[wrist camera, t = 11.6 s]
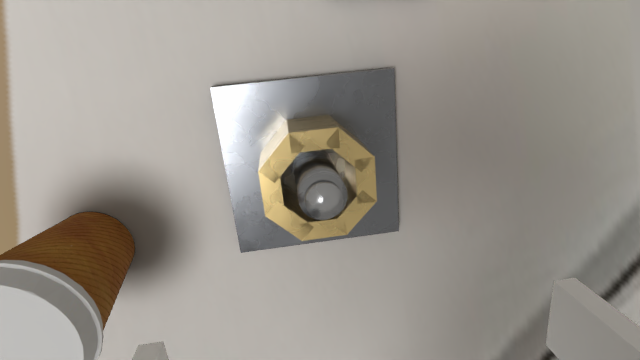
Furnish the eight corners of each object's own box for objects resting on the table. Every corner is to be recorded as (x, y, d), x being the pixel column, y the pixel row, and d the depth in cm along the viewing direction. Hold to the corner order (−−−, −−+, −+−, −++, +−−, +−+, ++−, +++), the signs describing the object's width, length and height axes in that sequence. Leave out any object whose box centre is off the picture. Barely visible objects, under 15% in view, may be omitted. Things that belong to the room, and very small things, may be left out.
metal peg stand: (241, 246, 34) (230, 310, 26) (212, 86, 29) (187, 101, 21) (395, 225, 35) (432, 281, 27) (390, 67, 30) (433, 74, 22)
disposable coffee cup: (8, 242, 32) (-139, 350, 20) (89, 170, 30) (-21, 242, 19) (102, 311, 35) (18, 439, 23) (178, 248, 33) (129, 350, 22)
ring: (270, 216, 32) (269, 245, 28) (256, 122, 30) (252, 137, 25) (363, 204, 33) (378, 230, 28) (357, 111, 30) (373, 123, 26)
